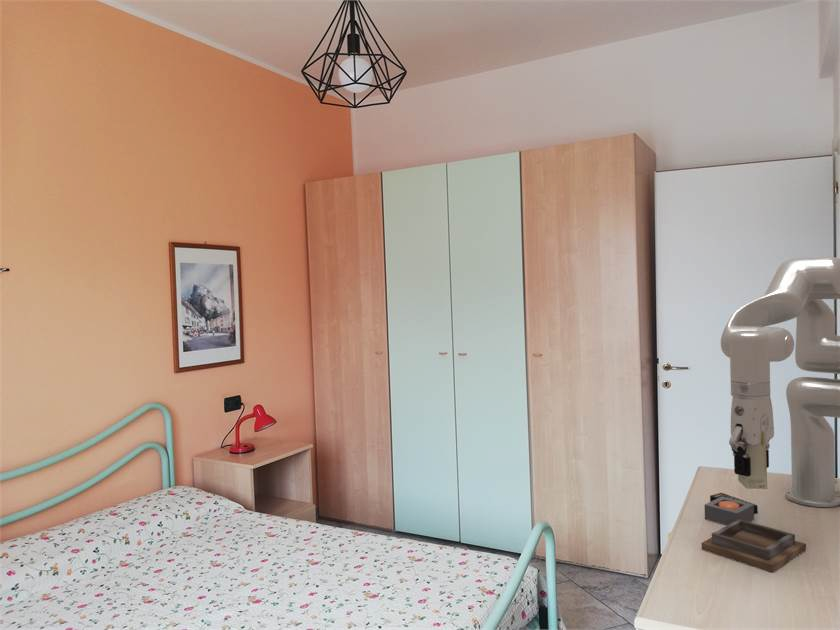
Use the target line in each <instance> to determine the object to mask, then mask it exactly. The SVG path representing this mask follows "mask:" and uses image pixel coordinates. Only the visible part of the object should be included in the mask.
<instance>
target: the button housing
mask: <svg viewBox="0 0 840 630" xmlns="http://www.w3.org/2000/svg"><path fill="white" fill-rule="evenodd" d="M721 501H732V502H735V503H738V504H739V508H738V509H736V510H731V509H728V508H724V507H720V506H719V502H721ZM753 504H754V503H752V504H749V503H745V502H741V501H737V500H733V499H729V498H725V497H720V498H717V499H715V500H713V501H711V502H710V501H708V502H707V503H705V504H704V519H705V520H708V521H712V522H716V523H719V524H722V525H725V526H727V525H729V524H731V523H733V522H735V521H737V520H738V519H741V520H744V521H748V522H751V521H753V520H755V514H754V505H753Z"/></svg>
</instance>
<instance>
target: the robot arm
mask: <svg viewBox="0 0 840 630" xmlns="http://www.w3.org/2000/svg"><path fill="white" fill-rule="evenodd" d="M824 300H840V258H839V257H834V256H824V257H823V256H821V257H820V256H819V257H800V258H798V257H797V258H791V259H787V260H784V262H782V263H781V264H780V265H779V266H778V268H777V270H776V271H775V274H774V276H773V278H772V280H771V282H770V283H769V285H768V287H767V289H766V291H765V293H764V295H761V296H759V297H757V298H755V299H753V300H751V301H750V302H747V303H746V304H744V305H743V306H740V307H739V308H738V309H737V310H735V311H734V312H733V313H732V314H731V316H730V317H729V319H728V321H727V323H726V325H725V326H724V328H723V331H722V334H721V337H720V349H721V351H722V353H723V354H724V355H725V356H726V357H727V358H729V360H730V361H729V370H730V373H729V374H730V375H729V376H730V396H732V398H731V399H732V400H731V406H730V407H731V408H730V409H731V411H730V435H731V436H730V438H729V441H728V443H729V445H730V448H731V451H732V456H733V461H734V462H733V464H734V465H733V466H734V467H733V468H734V470H733V471H734V474H735V475H737V476H738V475H743V476H747V477H749V476H750V475H751V459H750V457H748V456H749V451H750V447H751V445H752V446H756V445H759V444H761V438H762V432H766V461H767V469H768V468H769V467H770V456H769V455H770V454H769V453H770V451H769V449H770V440H772V439H773V438H774V436H775V426H774V425H775V424H774V413H773V411H774V409H773V404H772V399H771V368H770V367H771V365H770V363H771V362H772V363H773V362H776V363H777V362H778V363H779V362H783V361H785V360H787V359H788V358H789V357H790V356H791V355H792V354H793V352H794V351H795V352H794V358H795V364H796V366H797V367H798V368H799V369H800V370H802V371H805V372H813V373H822V374H823V373H825V374H838V375H840V335H836V333H835V332H836V315H835V313H834V312H833V310H832V308H830V306H829V305H828V304H827V303H826V302H825V301H824ZM795 318H796V327H795V328H796V329H795V330H796V331H795V340H794V337H793V335H792V334H791V332H790V331H789V330H787V329H785V328H783V327H779V326H777V327H776V326H773V325H777V324H781V323H784V322H788V321H790V320H793V319H795ZM794 349H795V350H794ZM785 395H786V402H787V406H788V412H789V419H790V449H791V451H790V452H791V456H790V458H791V461H790V462H791V487H789V488H787V489H786V490H785V491H784V495H785V498H787V499H788V500H790V501H791V502H794V503H796V504H799V505H804V506H809V507H816V508H817V507H818V508H819V507H820V508H832V507H833V508H834V507H837V506H840V494H839V493H837V492H836V484H838V479H837V478H836V477H835V473H836V472H835V468H836V467H835V459H836V458H835V432H834V429H833V427H832V426H831V424H830V423H829V422H828V420H827V419H826V417H827V418H828V417H829V418H836V419H840V378H828V377H827V378H826V377H816V376H814V377H813V376H801V377H796V378H794V379H791V380H790V381H789V383H788V384H787V385H786V389H785ZM744 438H745V440H746V442H742V441H741V440H743V439H744ZM740 445H742V446H745V449H744V450H743V448H742V447H741V446H740Z"/></svg>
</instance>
